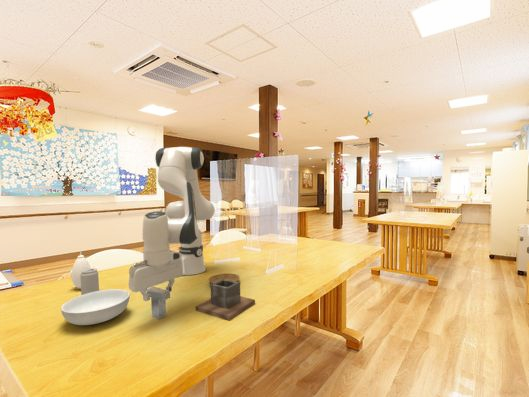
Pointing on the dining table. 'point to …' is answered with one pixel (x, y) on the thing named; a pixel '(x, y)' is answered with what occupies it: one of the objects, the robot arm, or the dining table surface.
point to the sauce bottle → (79, 270)
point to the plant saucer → (223, 276)
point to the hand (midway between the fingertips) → (158, 295)
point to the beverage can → (89, 281)
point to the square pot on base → (225, 300)
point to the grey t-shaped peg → (158, 301)
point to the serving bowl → (95, 306)
